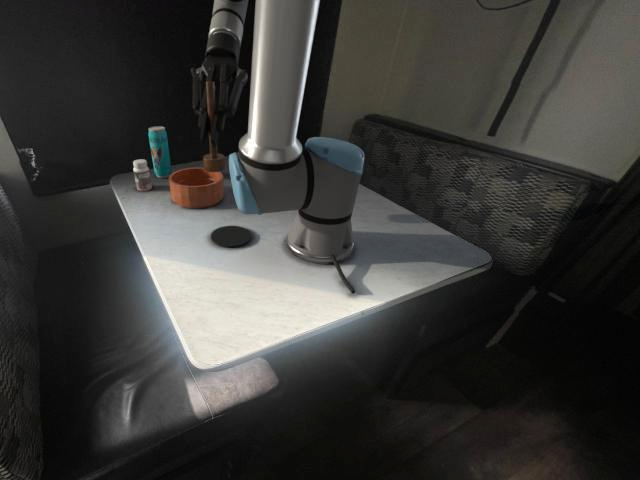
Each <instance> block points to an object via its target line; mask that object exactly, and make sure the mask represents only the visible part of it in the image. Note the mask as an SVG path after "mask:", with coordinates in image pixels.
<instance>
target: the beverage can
mask: <svg viewBox="0 0 640 480" xmlns="http://www.w3.org/2000/svg"><path fill="white" fill-rule="evenodd" d="M148 142H149V146H150V147H149V148H150V154H151V159H152V164H153V171H154V174H155V175H156V177H157V178H159V179H167V178H169V176H170V175H171V174H172V164H171V163H172V162H171V157H170V150H169V141H168V134H167V131H166V127H164V126H161V125H159V126H150V127H148Z"/></svg>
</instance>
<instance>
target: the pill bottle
mask: <svg viewBox="0 0 640 480" xmlns="http://www.w3.org/2000/svg"><path fill="white" fill-rule="evenodd" d="M132 165H133V168H132V170H133V176H134V181H135V187H136V189H137V190H138V191H149V190H151V189H152V188H153V184H152V179H151V173H150V168H149V166H148V161H147V160H146V159H144V158H143V159H141V158H140V159H139V158H138V159H135V160H133V161H132Z"/></svg>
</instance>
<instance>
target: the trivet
mask: <svg viewBox="0 0 640 480" xmlns="http://www.w3.org/2000/svg"><path fill="white" fill-rule="evenodd" d="M210 239H211V242H212V243H213V244H214V245H216V246H218V247H220V248H227V249H234V248H235V249H236V248H240V247H244V246H246V245H248V244H249V243H250V242H251V241H252V233H251V232H250V230H249V229H247V228H245V227H243V226H238V225H225V226H220V227H218V228H216V229H214V230H213V231H212V232H211V233H210Z"/></svg>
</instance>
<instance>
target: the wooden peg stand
mask: <svg viewBox="0 0 640 480" xmlns="http://www.w3.org/2000/svg"><path fill="white" fill-rule="evenodd" d="M205 87H206V92H207V110H208V128H209V131H208V143H209V144H208V145H209V153H207V154H204V155H203V156H202V162H203V168H204V170H205V171H208V172H223V171H224V170H225V169H226V157H225V155H224V154H222V153H218V146H217V147H213V145H212V143H211V134H212V128H213V122H214V116H215V112H217V108H216V89H215V83H214V81H207V80H206V81H205Z"/></svg>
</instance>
